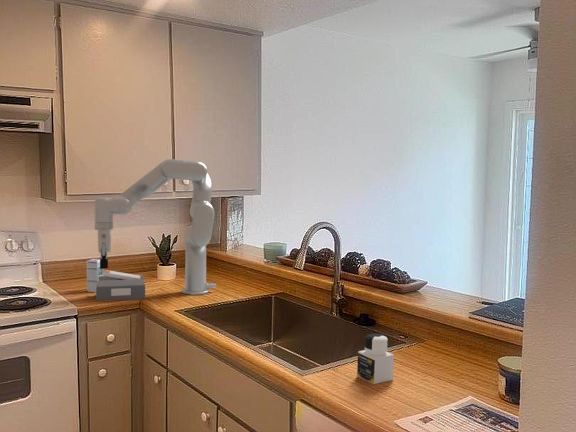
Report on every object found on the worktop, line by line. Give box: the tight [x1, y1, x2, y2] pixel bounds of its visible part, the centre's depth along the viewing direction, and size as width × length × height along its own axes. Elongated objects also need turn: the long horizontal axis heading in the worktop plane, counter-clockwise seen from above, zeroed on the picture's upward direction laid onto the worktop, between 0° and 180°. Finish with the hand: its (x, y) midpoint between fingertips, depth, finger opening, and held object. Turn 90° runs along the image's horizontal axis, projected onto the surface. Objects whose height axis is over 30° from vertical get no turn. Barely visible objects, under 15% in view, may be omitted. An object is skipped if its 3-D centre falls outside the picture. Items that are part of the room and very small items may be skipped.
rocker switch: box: [102, 268, 140, 280], centre depth 238 cm, size 16×7×2 cm, turn 108°
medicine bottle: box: [356, 333, 395, 385], centre depth 149 cm, size 7×7×12 cm
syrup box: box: [86, 258, 105, 293], centre depth 250 cm, size 6×6×14 cm
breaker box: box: [95, 274, 146, 302], centre depth 239 cm, size 20×12×8 cm, turn 107°
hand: (103, 268), depth 236 cm, fingers closed
